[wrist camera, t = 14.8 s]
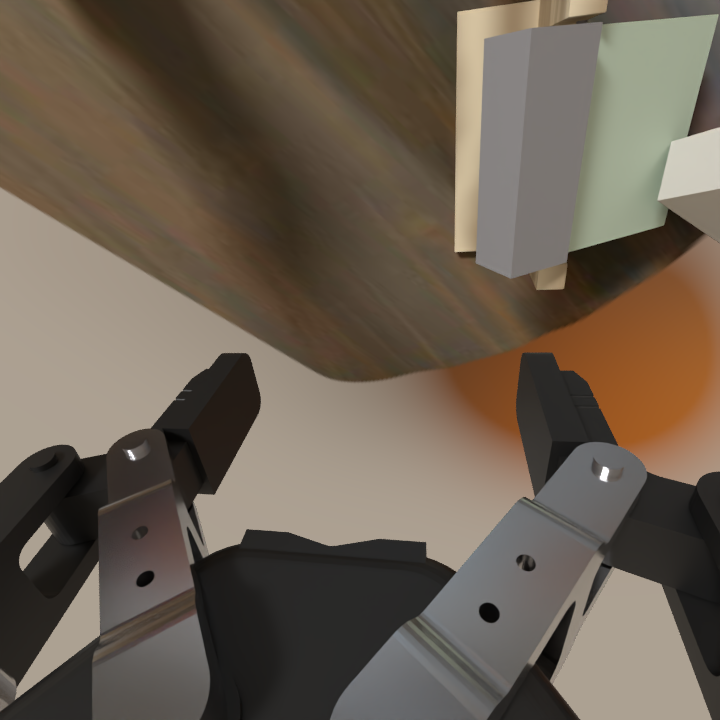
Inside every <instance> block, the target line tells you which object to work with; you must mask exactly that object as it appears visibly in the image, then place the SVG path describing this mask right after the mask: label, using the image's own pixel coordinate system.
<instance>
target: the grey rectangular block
mask: <svg viewBox="0 0 720 720" xmlns="http://www.w3.org/2000/svg"><path fill="white" fill-rule="evenodd" d="M657 201H659V202H660V203H661V204H663V205H664V206H666V207H667V208H669V209H670V210H672V211H673V212H675V213H676V214H678V215H679V216H680V217H682V218H683V219H685V220H686V221H688V222H689V223H691V224H692V225H694V226H695V227H697V228H698V229H699V230H701V231H702V232H704V233H705V234H707V235H708V236H710V237H711V238H713V239H714V240H716V241H717V242H718V243H720V127H719V128H716V129H712V130H709V131H706V132H702V133H699V134H695V135H692V136H689V137H685V138H682V139H679V140H675V141H672V142H671V145H670V150H669V154H668V158H667V162H666V166H665V170H664V175H663V179H662V183H661V187H660V191H659V196H658V200H657Z"/></svg>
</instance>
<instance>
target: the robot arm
mask: <svg viewBox="0 0 720 720" xmlns="http://www.w3.org/2000/svg"><path fill="white" fill-rule="evenodd" d="M260 404H261V397H260V392H259V388H258V384H257V381H256V377H255V374H254V370H253V366H252V362H251V359H250V357H249V355H248V354H246V353H223V354H221V355H220V356H219V357H218V358H217V359H216V361H215V362H214V364H213V365H212V366H211V367H210V368H209V369H206V370H204V371H202V372H201V373H200V374H198V375H197V376H195V377H194V378H192V379H191V381H190V382H189V383H188V384H187V385H186V386H185V388H184V389H183V391H182V392H181V393H180V394H179V395H178V396H177V397H176V400H174V401H173V402H172V403H171V405H170V406H169V407H168V408H167V410H166V411H165V412H164V413H163V414H162V416H161V417H160V418H159V419H158V420H157V422H156V423H155V424H154V425H153V426H152V428H151V429H142V430H138V431H135V432H133V433H130V434H128V435H126V436H124V437H122V438H121V439H119V440H118V441H117V442H116V443H114V444H113V446H112V447H111V448H110V449H109V451H108V453H107V454H103V455H99V456H94V457H88V458H83V459H80V457H79V455H78V454H77V452H76V450H75V449H74V448H73V447H72V446H69V445H57V446H52V447H48V448H46V449H43V450H41V451H38V452H37V453H35V454H33V455H31V456H30V457H28V458H27V459H25V460H24V461H23V462H22V463H21V464H19V465H18V466H17V467H16V468H15V469H14V470H13V471H12V472H11V473H10V474H9V475H8V476H7V477H6V478H5V479H4V480H3V481H2V482H1V483H0V720H580V719H579V718H578V716H577V715H576V714H575V713H574V711H573V710H572V709H571V708H570V706H569V705H568V704H567V702H566V701H565V700H564V699H563V697H562V696H561V695H560V694H559V692H558V691H557V690H556V689H555V687H554V686H553V685H552V684H553V682H554V680H555V678H556V676H557V675H558V673H559V671H560V669H561V668H562V666H563V664H564V662H565V660H566V658H567V656H568V654H569V652H570V650H571V648H572V646H573V643H574V641H575V639H576V636H577V634H578V632H579V630H580V628H581V626H582V625H583V622H584V621H585V619H586V617H587V615H588V614H589V612H590V610H591V608H592V607H593V605H594V603H595V602H596V600H597V598H598V596H599V595H600V593H601V591H602V589H603V588H604V586H605V584H606V582H607V581H608V579H609V577H610V575H611V574H612V572H613V570H614V568H617V569H620V570H623V571H626V572H629V573H632V574H634V575H637V576H640V577H643V578H646V579H649V580H652V581H654V582H657V583H660V584H662V587H663V589H664V592H665V595H666V597H667V600H668V603H669V605H670V608H671V611H672V614H673V616H674V619H675V622H676V624H677V627H678V630H679V632H680V635H681V638H682V640H683V643H684V646H685V648H686V651H687V653H688V656H689V659H690V662H691V664H692V667H693V670H694V672H695V675H696V678H697V681H698V683H699V686H700V688H701V691H702V694H703V697H704V699H705V702H706V705H707V707H708V710H709V713H710V715H711V718H712V720H720V472H712V473H708V474H706V475H704V476H702V477H701V478H700V479H699V481H698V483H697V485H696V486H693V485H690V484H686V483H682V482H678V481H674V480H670V479H666V478H663V477H659V476H656V475H654V474H651V473H649V472H647V471H646V468H645V466H644V465H643V463H642V462H641V461H640V460H639V459H638V458H637V457H636V456H635V455H634V454H632V453H631V452H629V451H628V450H626V449H624V448H622V447H619V446H618V444H617V442H616V440H615V438H614V436H613V434H612V432H611V430H610V428H609V426H608V424H607V422H606V420H605V418H604V416H603V414H602V412H601V410H600V409H599V406H598V403H597V401H596V399H595V398H594V397H593V393H592V391H591V389H590V387H589V385H588V383H587V382H586V381H585V380H584V379H583V378H581V377H580V376H579V375H578V374H577V373H575V372H574V371H560V370H559V367H558V365H557V362H556V360H555V357H554V355H553V354H552V353H523V354H522V357H521V364H520V372H519V381H518V390H517V399H516V412H517V421H518V425H519V429H520V434H521V438H522V443H523V447H524V451H525V456H526V460H527V464H528V468H529V473H530V477H531V481H532V486H533V490H534V495H535V498H534V499H533V500H532V501H531V500H530V499H528V498H526V497H523V498H521V499H520V500H518V501H517V503H515V505H514V506H513V507H512V508H511V509H510V510H509V512H508V513H507V514H506V515H505V516H504V517H503V519H502V520H501V521H500V522H499V523H498V524H497V526H496V527H495V528H494V529H493V530H492V531H491V533H490V534H489V535H488V536H487V537H486V538H485V540H484V541H483V542H482V543H481V545H480V546H479V547H478V548H477V549H476V550H475V551H474V553H473V554H472V555H471V556H470V557H469V559H468V560H467V561H466V562H465V563H464V564H463V565H462V567H461V568H460V569H459V570H458V572H456V571H454V570H452V569H451V568H449V567H448V566H446V565H444V564H442V563H439V562H437V561H435V560H432V559H429V558H427V557H426V542H413V541H399V540H386V539H376V540H370V541H364V542H358V543H351V544H345V545H339V546H327V545H324V544H321V543H318V542H315V541H312V540H309V539H306V538H303V537H300V536H297V535H294V534H292V533H289V532H276V531H262V530H249V529H247V530H246V532H245V535H244V537H243V539H242V542H241V544H238V545H234V546H230V547H227V548H224V549H222V550H219V551H216V552H214V553H212V554H210V555H209V553H208V549H207V546H206V542H205V538H204V535H203V531H202V527H201V524H200V520H199V516H198V512H197V509H196V506H195V504H194V502H193V500H194V499H195V497H196V495H197V494H213V495H214V494H215V493H216V491H217V489H218V487H219V485H220V484H221V481H222V480H223V478H224V476H225V474H226V472H227V471H228V469H229V467H230V465H231V463H232V461H233V459H234V458H235V456H236V454H237V452H238V450H239V448H240V447H241V445H242V443H243V441H244V439H245V437H246V436H247V434H248V432H249V430H250V428H251V426H252V424H253V423H254V421H255V419H256V417H257V415H258V413H259V410H260ZM43 522H44V523H45V524H46V525H47V527H48V528H49V529H50V531H51V532H52V535H51V536H50V538H49V539H48V540H47V542H46V543H45V544H44V545H43V547H42V548H41V549H40V550H39V552H38V553H37V554H36V555H35V557H34V558H33V559H32V561H31V562H30V563H29V564H28V566H27V567H26V568H25V569H24V571H22V570H21V568H20V566H19V556H20V553H21V550H22V549H23V547H24V545H25V544H26V543H27V541H28V540H29V539H30V538H31V537H32V536H33V534H34V533H35V532H36V531H37V530H38V528H39V527H40V526H41V525H42V523H43ZM98 561H99V594H100V595H99V596H100V636H99V637H97V638H96V639H95V640H93V641H92V642H91V643H89V644H88V645H87V646H86V647H84V648H83V649H82V650H80V651H79V652H78V653H76V654H75V655H74V656H72V657H71V658H70V659H68V660H67V661H66V662H64V663H63V664H62V665H61V666H59V667H58V668H57V669H55V670H54V671H53V672H51V673H50V674H49V675H47V676H46V677H45V678H43V679H42V680H41V681H40V682H38V683H37V684H36V685H34V686H33V687H32V688H30V689H29V690H28V691H26V692H25V693H24V694H22V695H21V696H20V697H19V698H17V699H16V700H15V696H16V688H17V686H18V685H19V683H20V682H21V680H22V678H23V677H24V675H25V674H26V672H27V671H28V669H29V667H30V666H31V664H32V663H33V661H34V660H35V658H36V657H37V655H38V654H39V652H40V651H41V649H42V647H43V646H44V644H45V643H46V641H47V640H48V638H49V637H50V635H51V634H52V632H53V630H54V629H55V627H56V626H57V624H58V623H59V621H60V620H61V618H62V617H63V615H64V613H65V612H66V610H67V609H68V607H69V606H70V604H71V603H72V601H73V600H74V598H75V596H76V595H77V593H78V592H79V590H80V589H81V587H82V586H83V584H84V583H85V581H86V579H87V578H88V576H89V575H90V573H91V572H92V570H93V568H94V567H95V565H96V564H97V562H98ZM14 700H15V701H14Z"/></svg>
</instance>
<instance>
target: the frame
mask: <svg viewBox="0 0 720 720" xmlns="http://www.w3.org/2000/svg"><path fill="white" fill-rule="evenodd" d="M607 2H608V0H535V1H528V2H521V3H514V4H508V5H501V6H494V7H487V8H481V9H474V10H467V11H460V12H458V13H457V81H456V170H455V252H467V251H476V244H477V218H478V191H479V165H480V138H481V112H482V85H483V59H484V39H485V38H490V37H494V36H499V35H503V34H507V33H512V32H516V31H520V30H525V29H529V28H537V27H548V26H560V25H572V24H576V22H577V21H582V20H588V19H590V18H593V17H595V16H597V15H600V14H602V13H604V12H606V8H607ZM567 265H568V264H567V263H563V264H560V265H556V266H553V267H549V268H546V269H542V270H539V271H535V272H532V273H529V274H530V277H531V279H532V281H533V283H534V285H535V288H536V290H550V289H564V285H565V278H566V272H567Z"/></svg>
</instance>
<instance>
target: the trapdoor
mask: <svg viewBox="0 0 720 720" xmlns="http://www.w3.org/2000/svg"><path fill="white" fill-rule="evenodd" d="M718 15H719V14H716V15H704V16H693V17H681V18H670V19H659V20H647V21H636V22H624V23H613V24H603V22H595V23H587V20H582V21H577V22H576V24H572V25H560V26H548V27H537V28H529V29H525V30H520V31H516V32H512V33H507V34H503V35H499V36H494V37H490V38H485V39H484V59H483V85H482V112H481V138H480V165H479V191H478V218H477V244H476V263H477V264H479V265H481V266H484V267H486V268H488V269H490V270H493V271H495V272H497V273H499V274H502V275H504V276H506V277H508V278H515V277H518V276H522V275H525V274H528V273H532V272H535V271H539V270H542V269H546V268H549V267H553V266H556V265H560V264H563V263H566V262H567V257H568V252H571V251H575V250H578V249H582V248H586V247H589V246H593V245H596V244H600V243H603V242H607V241H610V240H614V239H618V238H621V237H625V236H628V235H632V234H635V233H639V232H642V231H646V230H650V229H653V228H657V227H660V226H664V224H665V220H666V216H667V212H668V208H667V207H666V206H664V205H663V204H661V203H660V202H659V201H657V200H658V196H659V191H660V187H661V183H662V179H663V175H664V170H665V166H666V162H667V158H668V154H669V150H670V145H671V142H672V141H675V140H679V139H682V138H685V137H687V135H688V131H689V127H690V123H691V120H692V116H693V112H694V108H695V104H696V100H697V96H698V93H699V89H700V85H701V81H702V77H703V73H704V69H705V66H706V62H707V58H708V54H709V50H710V46H711V42H712V39H713V35H714V31H715V27H716V23H717V19H718Z"/></svg>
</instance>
